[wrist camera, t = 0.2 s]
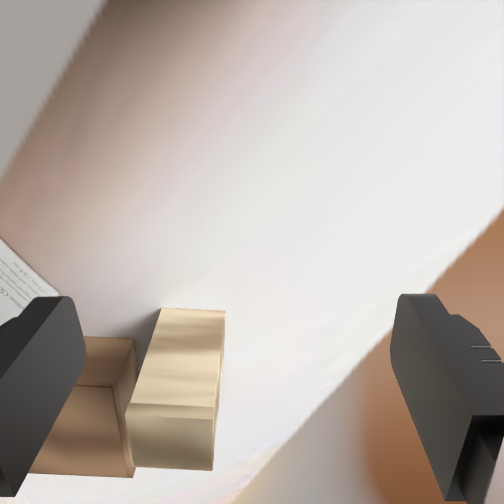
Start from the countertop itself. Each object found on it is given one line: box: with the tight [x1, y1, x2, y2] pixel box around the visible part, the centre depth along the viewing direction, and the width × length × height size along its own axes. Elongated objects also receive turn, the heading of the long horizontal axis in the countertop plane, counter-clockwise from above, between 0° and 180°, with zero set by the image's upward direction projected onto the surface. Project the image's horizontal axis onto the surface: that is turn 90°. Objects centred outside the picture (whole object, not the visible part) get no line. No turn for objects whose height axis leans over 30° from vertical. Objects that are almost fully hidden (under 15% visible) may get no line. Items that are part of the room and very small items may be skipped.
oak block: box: [125, 308, 225, 471], centre depth 29 cm, size 5×5×10 cm
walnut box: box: [28, 336, 139, 478], centre depth 35 cm, size 12×12×5 cm
